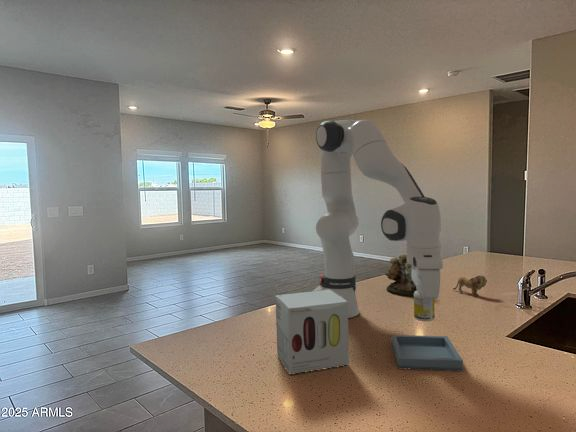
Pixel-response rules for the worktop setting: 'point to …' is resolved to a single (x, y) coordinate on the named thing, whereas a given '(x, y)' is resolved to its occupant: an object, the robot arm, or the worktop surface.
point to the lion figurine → (472, 284)
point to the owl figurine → (401, 277)
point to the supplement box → (312, 330)
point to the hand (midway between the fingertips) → (423, 305)
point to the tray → (426, 353)
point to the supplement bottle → (418, 309)
